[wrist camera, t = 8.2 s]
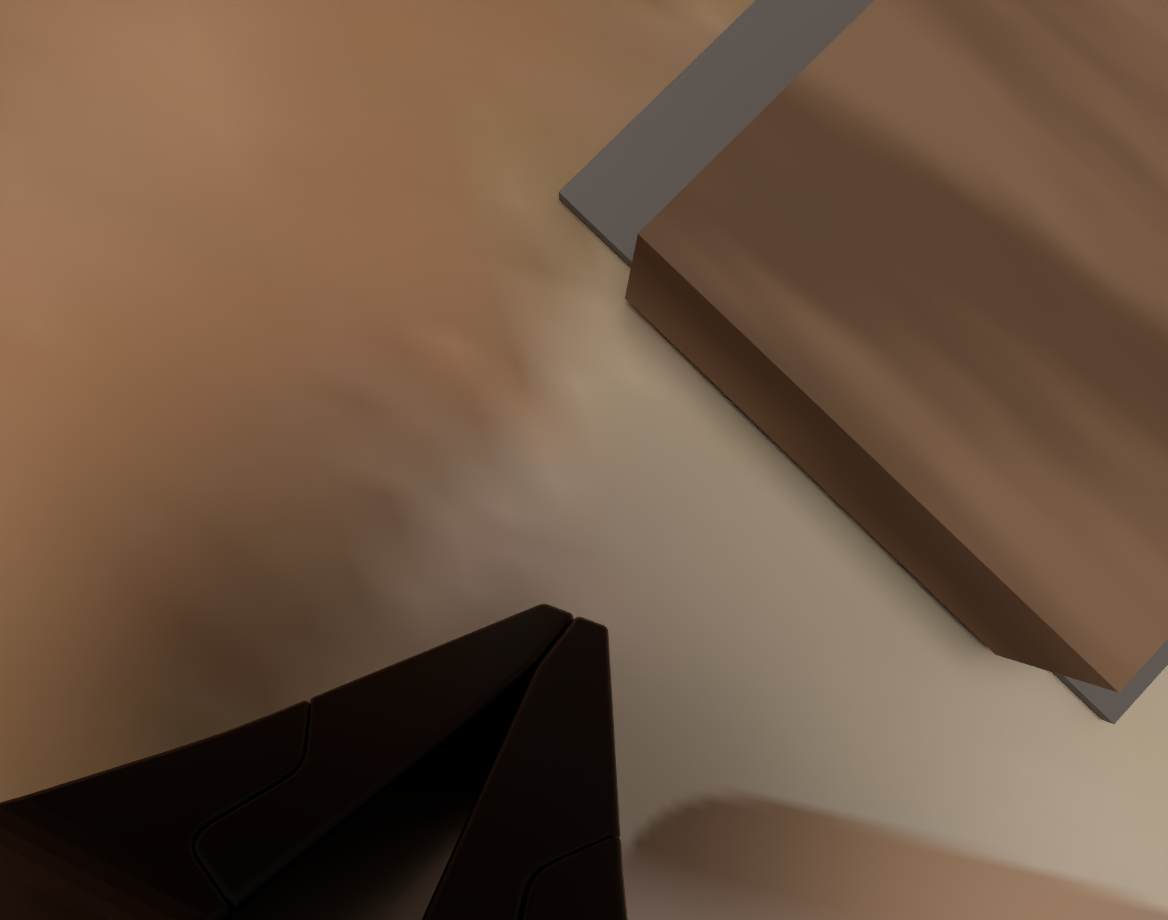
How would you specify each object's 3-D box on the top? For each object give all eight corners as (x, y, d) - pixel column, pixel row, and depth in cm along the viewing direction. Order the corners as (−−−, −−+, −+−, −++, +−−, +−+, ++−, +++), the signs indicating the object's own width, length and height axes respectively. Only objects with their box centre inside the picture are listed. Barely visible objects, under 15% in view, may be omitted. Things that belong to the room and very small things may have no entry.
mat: (1102, 719, 18) (1114, 724, 17) (559, 198, 19) (558, 192, 18) (1448, 334, 18) (1467, 330, 18) (911, -143, 20) (918, -157, 19)
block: (1119, 692, 13) (1502, 266, 14) (637, 233, 14) (1026, -151, 15) (995, 654, 17) (1299, 323, 18) (625, 298, 18) (932, -7, 19)
